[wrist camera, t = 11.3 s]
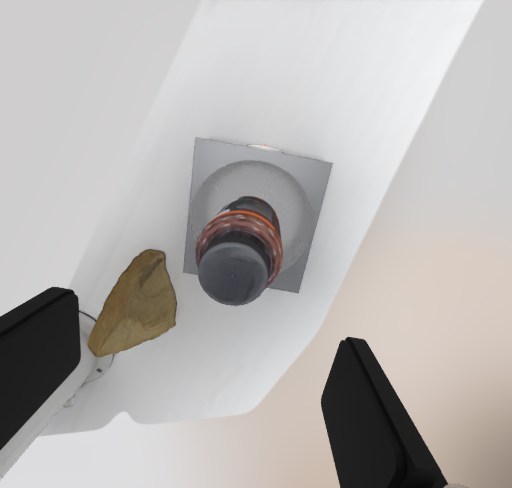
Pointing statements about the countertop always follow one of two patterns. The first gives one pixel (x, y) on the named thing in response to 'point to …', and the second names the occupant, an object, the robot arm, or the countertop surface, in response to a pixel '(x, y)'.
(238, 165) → the scale pan
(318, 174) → the scale base
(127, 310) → the rock
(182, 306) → the countertop surface
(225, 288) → the supplement bottle
